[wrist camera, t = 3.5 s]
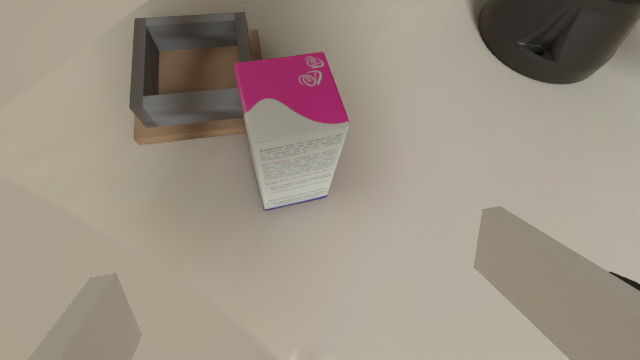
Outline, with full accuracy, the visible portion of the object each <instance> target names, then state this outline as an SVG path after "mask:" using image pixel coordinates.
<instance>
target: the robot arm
mask: <svg viewBox="0 0 640 360" xmlns="http://www.w3.org/2000/svg"><path fill="white" fill-rule="evenodd" d="M639 19H640V0H488V1H487V2H486V4H485V5H484V7H483V9H482V11H481V13H480V17H479V26H480V31H481V34H482V36H483V38H484V40H485V42H486V44H487V45H488V47H489V48H490V49H491V51H492V52H493V53H494V54H495V55H496V56H497V57H498V58H499V59H500V60H501V61H503V62H504V63H505V64H507V65H508V66H509V67H511V68H512V69H514V70H516V71H517V72H519V73H521V74H523V75H525V76H528V77H530V78H533V79H536V80H539V81H543V82H547V83H554V84H570V83H575V82H579V81H582V80H584V79H586V78H588V77H589V76H590V75H592V74H593V73H594V72H596V71H597V70H598V69H599V68H601V67H602V66H603V65H605V64H606V63H607V62H608V61H609V60H610V59H611V58H612V56H613V55H614V53H615V52H616V50H617V49H618V47H619V46H620V45H621V43H622V42H623V41H624V39H625V38H626V37H627V35H628V34H629V33H630V31H631V30H632V28H633V27H634V26H635V24H636V23H637V21H638V20H639ZM474 268H475V269H476V270H477V271H478V272H479V273H480V274H482V275H483V276H484V277H485V278H486V279H487V280H488V281H489V282H490V283H491V284H492V285H493V286H494V287H495V288H496V289H497V290H498V291H499V292H500V293H501V294H502V295H503V296H504V297H506V298H507V299H508V300H509V301H510V302H511V303H512V304H513V305H514V306H515V307H516V308H517V309H518V310H519V311H520V312H521V313H522V314H523V315H524V316H525V317H526V318H527V319H528V320H529V321H531V322H532V323H533V324H534V325H535V326H536V327H537V328H538V329H539V330H540V331H541V332H542V333H543V334H544V335H545V336H546V337H547V338H548V339H549V340H550V341H551V342H552V343H553V344H554V345H556V346H557V347H558V348H559V349H560V350H561V351H562V352H563V353H564V354H565V355H566V356H567V357H568V358H569V359H570V360H640V284H638V283H637V282H635V281H632V280H630V279H627V278H625V277H622V276H620V275H617V274H615V273H612V272H607V271H606V270H604V269H602V268H601V267H599V266H597V265H596V264H594V263H593V262H591V261H589V260H588V259H586V258H584V257H583V256H581V255H579V254H578V253H576V252H574V251H573V250H571V249H569V248H568V247H566V246H565V245H563V244H561V243H560V242H558V241H556V240H555V239H553V238H551V237H550V236H548V235H546V234H545V233H543V232H541V231H540V230H538V229H537V228H535V227H533V226H532V225H530V224H528V223H527V222H525V221H523V220H522V219H520V218H518V217H517V216H515V215H513V214H512V213H510V212H509V211H507V210H505V209H504V208H502V207H500V206H499V207H494V208H488V209H482V216H481V223H480V229H479V236H478V242H477V249H476V256H475V262H474ZM141 336H142V334H141V332H140V329H139V327H138V325H137V322H136V320H135V317H134V315H133V312H132V310H131V308H130V305H129V303H128V301H127V298H126V296H125V294H124V291H123V289H122V286H121V284H120V281H119V279H118V277H117V274H116V273H115V274H110V275H104V276H99V277H93V278H90V279H89V280H88V282H87V283H86V284H85V285H84V287H83V288H82V289H81V291H80V292H79V293H78V295H77V296H76V297H75V299H74V300H73V301H72V303H71V304H70V305H69V307H68V308H67V309H66V311H65V312H64V313H63V315H62V316H61V317H60V319H59V320H58V321H57V322H56V324H55V325H54V326H53V328H52V329H51V330H50V332H49V333H48V334H47V336H46V337H45V338H44V340H43V341H42V342H41V344H40V345H39V346H38V347H37V349H36V350H35V352H34V353H33V354H32V355H31V357H30V358H29V359H28V360H132V358H133V356H134V353H135V351H136V349H137V346H138V343H139V341H140V339H141Z"/></svg>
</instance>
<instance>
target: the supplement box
mask: <svg viewBox="0 0 640 360" xmlns="http://www.w3.org/2000/svg"><path fill="white" fill-rule="evenodd" d="M234 73H235V78H236V83H237V88H238V93H239V97H240V102H241V107H242V111H243V116H244V121H245V126H246V131H247V136H248V141H249V146H250V151H251V156H252V161H253V165H254V169H255V174H256V179H257V183H258V188H259V192H260V196H261V200H262V204H263V208H264V211H267V210H273V209H277V208H281V207H285V206H289V205H294V204H298V203H303V202H308V201H312V200H317V199H321V198H325V197H326V196H327V194H328V191H329V188H330V185H331V182H332V179H333V176H334V173H335V170H336V167H337V163H338V160H339V157H340V154H341V151H342V148H343V145H344V142H345V139H346V136H347V133H348V130H349V127H350V122H349V120H348V117H347V114H346V111H345V108H344V106H343V103H342V100H341V98H340V95H339V92H338V90H337V87H336V84H335V82H334V79H333V76H332V74H331V71H330V68H329V66H328V63H327V60H326V57H325V55H324V53H323V52H319V53H311V54H303V55H297V56H290V57H283V58H274V59H266V60H257V61H248V62H239V63H235V64H234Z"/></svg>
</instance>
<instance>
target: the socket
mask: <svg viewBox="0 0 640 360" xmlns="http://www.w3.org/2000/svg"><path fill="white" fill-rule="evenodd" d="M257 60H262V58H261V52H260V45H259V38H258V31H257V30H253V31H248V29H247V23H246V17H245V12H242V13H224V14H207V15H189V16H171V17H154V18H136V19H135V22H134V39H133V56H132V73H131V91H130V109H131V110H132V111H133V113H134V114H135V124H134V140H135V141H136V142H137V143H138V144H139V145H141V144H150V143H159V142H168V141H176V140H185V139H194V138H203V137H211V136H220V135H229V134H238V133H246V132H247V131H246V126H245V121H244V116H243V111H242V107H241V102H240V97H239V93H238V88H237V83H236V78H235V73H234V64H235V63H239V62H248V61H257Z"/></svg>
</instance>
